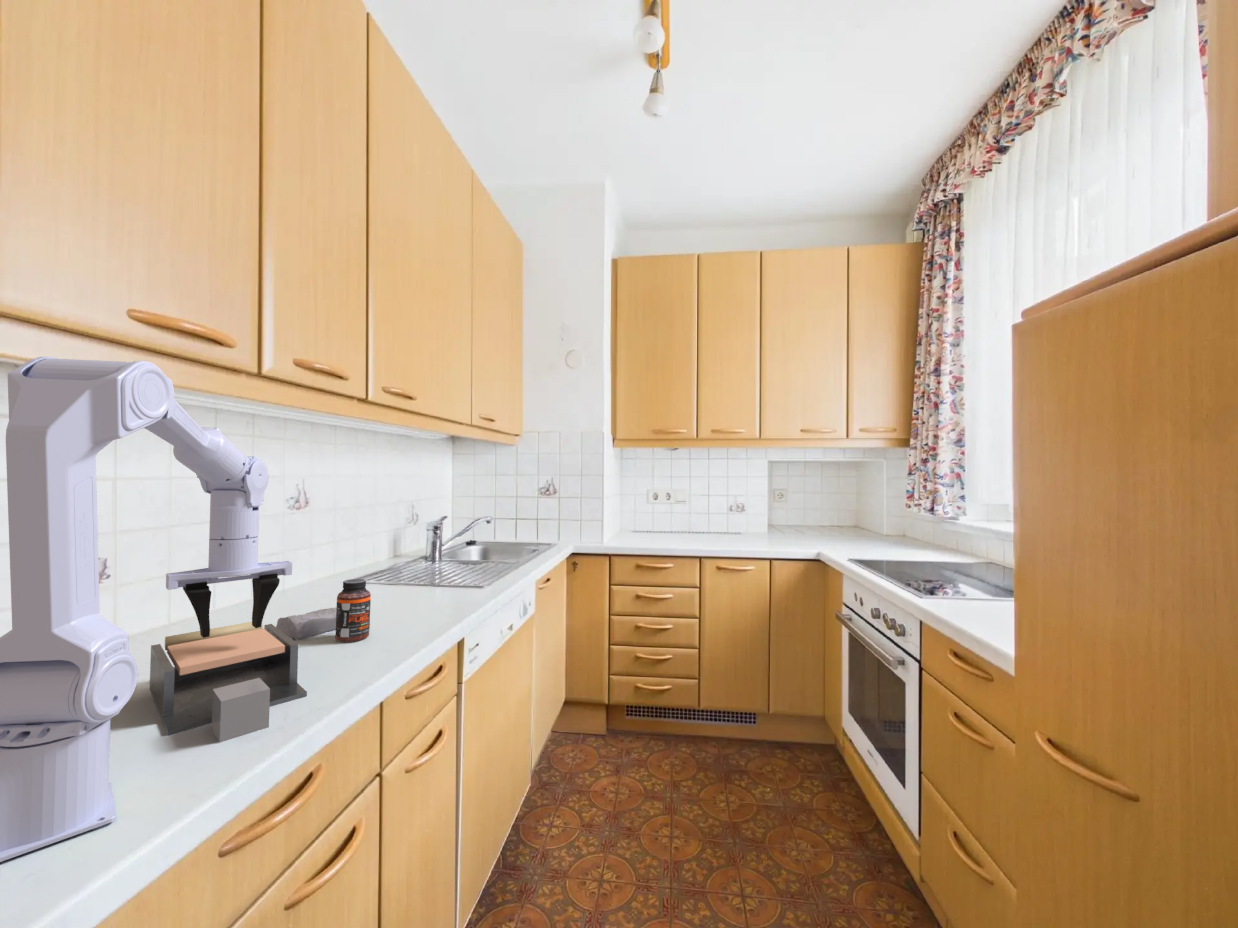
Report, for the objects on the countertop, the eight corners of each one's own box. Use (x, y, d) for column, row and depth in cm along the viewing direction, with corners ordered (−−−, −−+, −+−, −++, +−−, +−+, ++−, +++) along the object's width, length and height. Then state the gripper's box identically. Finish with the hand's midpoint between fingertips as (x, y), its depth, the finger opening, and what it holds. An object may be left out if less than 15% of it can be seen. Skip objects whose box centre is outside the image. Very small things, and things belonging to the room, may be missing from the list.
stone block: (269, 643, 101) (298, 641, 96) (268, 618, 102) (297, 615, 97) (327, 629, 111) (356, 627, 107) (326, 607, 112) (354, 604, 108)
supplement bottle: (348, 645, 95) (350, 585, 95) (328, 640, 97) (329, 581, 98) (376, 636, 100) (377, 579, 100) (356, 631, 103) (357, 576, 103)
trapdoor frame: (167, 735, 62) (169, 682, 62) (149, 689, 75) (150, 645, 75) (306, 695, 73) (307, 651, 73) (270, 661, 86) (271, 623, 86)
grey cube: (219, 743, 61) (221, 701, 61) (211, 728, 64) (212, 689, 64) (268, 727, 64) (270, 688, 64) (258, 714, 68) (259, 677, 68)
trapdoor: (179, 675, 67) (180, 660, 67) (164, 648, 76) (164, 635, 76) (284, 652, 76) (285, 638, 76) (259, 630, 85) (259, 619, 85)
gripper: (283, 531, 82) (281, 615, 81) (164, 539, 71) (161, 635, 70) (297, 535, 77) (295, 624, 77) (171, 544, 66) (168, 648, 66)
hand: (231, 630), depth 73 cm, fingers open, 5 cm apart
